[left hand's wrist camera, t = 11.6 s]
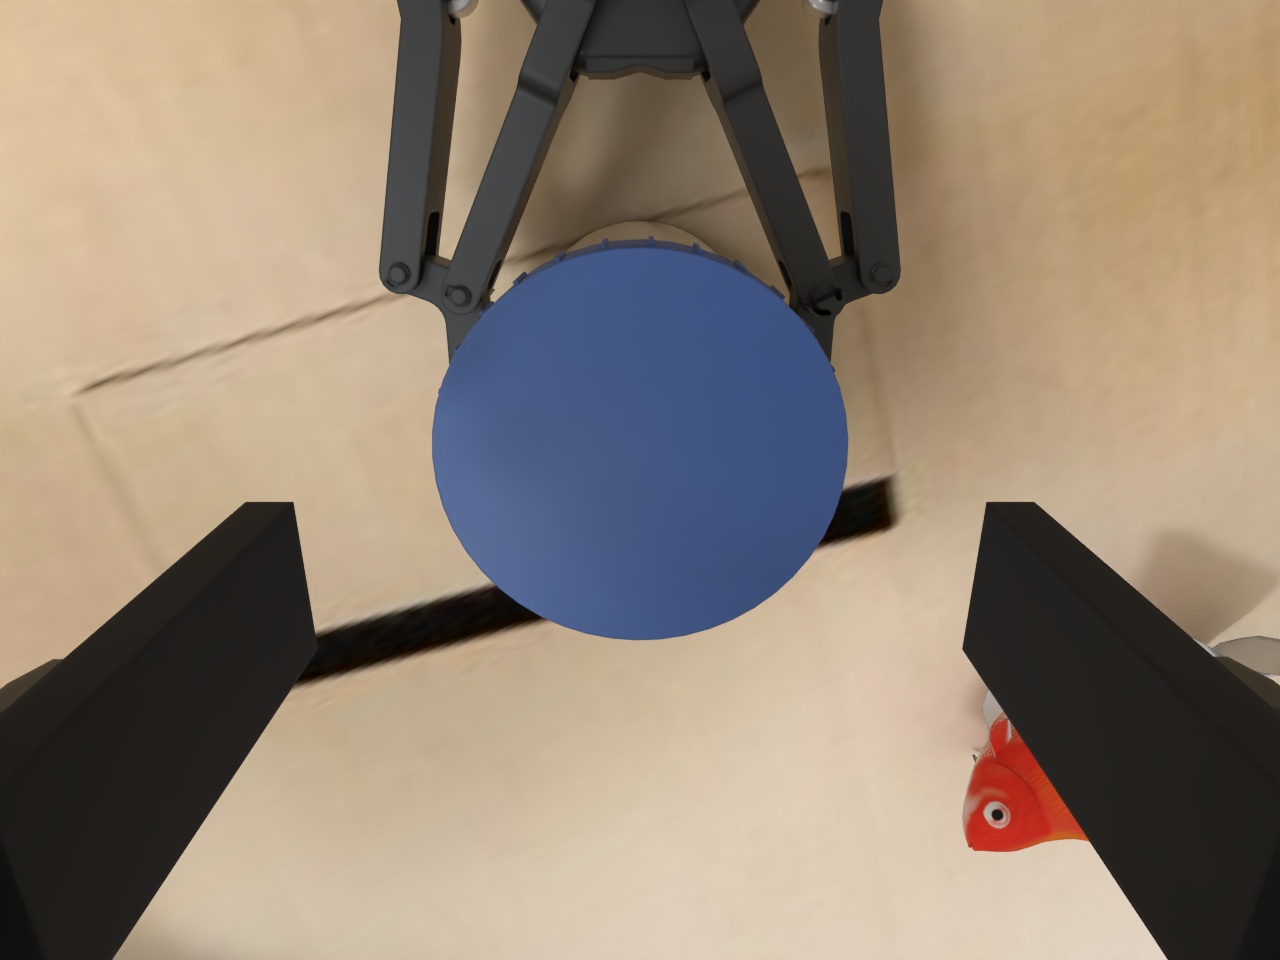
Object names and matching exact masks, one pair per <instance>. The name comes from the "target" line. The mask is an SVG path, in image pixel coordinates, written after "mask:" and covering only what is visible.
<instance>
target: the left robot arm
mask: <svg viewBox="0 0 1280 960" xmlns="http://www.w3.org/2000/svg"><path fill="white" fill-rule="evenodd" d="M317 649H318V648H317V642H316V636H315V630H314V624H313V618H312V612H311V606H310V600H309V594H308V588H307V582H306V575H305V569H304V563H303V557H302V551H301V545H300V539H299V533H298V527H297V521H296V515H295V509H294V503H293V502H245V503H244V504H243V505H242V506H241V507H239V508H238V509H237V510H236V511H235V512H234V513H232V514H231V515H230V516H229V517H228V518H227V519H225V520H224V521H223V522H222V523H221V524H220V525H219V526H217V527H216V528H215V529H214V530H213V531H212V532H210V533H209V534H208V535H207V536H206V537H205V538H203V539H202V540H201V541H200V542H199V543H198V544H196V545H195V546H194V547H193V548H192V549H191V550H190V551H188V552H187V553H186V554H185V555H184V556H183V557H181V558H180V559H179V560H178V561H177V562H176V563H174V564H173V565H172V566H171V567H170V568H169V569H167V570H166V571H165V572H164V573H163V574H162V575H161V576H159V577H158V578H157V579H156V580H155V581H154V582H152V583H151V584H150V585H149V586H148V587H147V588H145V589H144V590H143V591H142V592H141V593H140V594H138V595H137V596H136V597H135V598H134V599H133V600H132V601H130V602H129V603H128V604H127V605H126V606H125V607H123V608H122V609H121V610H120V611H119V612H118V613H116V614H115V615H114V616H113V617H112V618H111V619H109V620H108V621H107V622H106V623H105V624H104V625H102V626H101V627H100V628H99V629H98V630H97V631H96V632H94V633H93V634H92V635H91V636H90V637H89V638H87V639H86V640H85V641H84V642H83V643H82V644H80V645H79V646H78V647H77V648H76V649H75V650H73V651H72V652H71V653H70V654H69V655H68V656H67V657H65V658H64V659H53V660H51V661H49V662H47V663H45V664H43V665H42V666H40V667H38V668H36V669H34V670H32V671H30V672H28V673H26V674H25V675H23V676H21V677H19V678H17V679H15V680H13V681H11V682H9V683H8V684H6V685H5V686H4V687H3V688H1V689H0V960H112V959H113V958H114V956H115V955H116V953H117V952H118V950H119V949H120V947H121V946H122V944H123V943H124V941H125V939H126V938H127V936H128V935H129V933H130V932H131V930H132V929H133V927H134V926H135V924H136V923H137V921H138V920H139V918H140V917H141V915H142V914H143V912H144V911H145V909H146V908H147V906H148V905H149V903H150V902H151V900H152V899H153V897H154V896H155V894H156V893H157V891H158V890H159V888H160V887H161V885H162V884H163V882H164V881H165V879H166V878H167V876H168V875H169V873H170V872H171V870H172V868H173V867H174V865H175V864H176V862H177V861H178V859H179V858H180V856H181V855H182V853H183V852H184V850H185V849H186V847H187V846H188V844H189V843H190V841H191V840H192V838H193V837H194V835H195V834H196V832H197V831H198V829H199V828H200V826H201V825H202V823H203V822H204V820H205V819H206V817H207V816H208V814H209V813H210V811H211V810H212V808H213V807H214V805H215V804H216V802H217V801H218V799H219V797H220V796H221V794H222V793H223V791H224V790H225V788H226V787H227V785H228V784H229V782H230V781H231V779H232V778H233V776H234V775H235V773H236V772H237V770H238V769H239V767H240V766H241V764H242V763H243V761H244V760H245V758H246V757H247V755H248V754H249V752H250V751H251V749H252V748H253V746H254V745H255V743H256V742H257V740H258V739H259V737H260V736H261V734H262V733H263V731H264V730H265V728H266V726H267V725H268V723H269V722H270V720H271V719H272V717H273V716H274V714H275V713H276V711H277V710H278V708H279V707H280V705H281V704H282V702H283V701H284V699H285V698H286V696H287V695H288V693H289V692H290V690H291V689H292V687H293V686H294V684H295V683H296V681H297V680H298V678H299V677H300V675H301V674H302V672H303V671H304V669H305V668H306V666H307V665H308V663H309V662H310V660H311V659H312V657H313V655H314V654H315V652H316V651H317ZM962 649H963V651H964V652H965V654H966V655H967V657H968V659H969V660H970V662H971V663H972V665H973V666H974V668H975V669H976V671H977V672H978V674H979V675H980V677H981V678H982V680H983V681H984V683H985V684H986V686H987V687H988V689H989V690H990V692H991V693H992V695H993V696H994V698H995V699H996V701H997V702H998V704H999V705H1000V707H1001V708H1002V710H1003V711H1004V713H1005V714H1006V716H1007V717H1008V719H1009V720H1010V722H1011V723H1012V725H1013V726H1014V728H1015V730H1016V731H1017V733H1018V734H1019V736H1020V737H1021V739H1022V740H1023V742H1024V743H1025V745H1026V746H1027V748H1028V749H1029V751H1030V752H1031V754H1032V755H1033V757H1034V758H1035V760H1036V761H1037V763H1038V764H1039V766H1040V767H1041V769H1042V770H1043V772H1044V773H1045V775H1046V776H1047V778H1048V779H1049V781H1050V782H1051V784H1052V785H1053V787H1054V788H1055V790H1056V791H1057V793H1058V794H1059V796H1060V797H1061V799H1062V801H1063V802H1064V804H1065V805H1066V807H1067V808H1068V810H1069V811H1070V813H1071V814H1072V816H1073V817H1074V819H1075V820H1076V822H1077V823H1078V825H1079V826H1080V828H1081V829H1082V831H1083V832H1084V834H1085V835H1086V837H1087V838H1088V840H1089V841H1090V843H1091V844H1092V846H1093V847H1094V849H1095V850H1096V852H1097V853H1098V855H1099V856H1100V858H1101V859H1102V861H1103V862H1104V864H1105V865H1106V867H1107V868H1108V870H1109V872H1110V873H1111V875H1112V876H1113V878H1114V879H1115V881H1116V882H1117V884H1118V885H1119V887H1120V888H1121V890H1122V891H1123V893H1124V894H1125V896H1126V897H1127V899H1128V900H1129V902H1130V903H1131V905H1132V906H1133V908H1134V909H1135V911H1136V912H1137V914H1138V915H1139V917H1140V918H1141V920H1142V921H1143V923H1144V924H1145V926H1146V927H1147V929H1148V930H1149V932H1150V933H1151V935H1152V936H1153V938H1154V939H1155V941H1156V943H1157V944H1158V946H1159V947H1160V949H1161V950H1162V952H1163V953H1164V955H1165V956H1166V958H1167V959H1168V960H1280V685H1278V684H1277V683H1276V682H1275V681H1273V680H1271V679H1269V678H1268V677H1266V676H1264V675H1262V674H1260V673H1258V672H1256V671H1254V670H1252V669H1250V668H1249V667H1247V666H1245V665H1243V664H1241V663H1239V662H1237V661H1235V660H1233V659H1231V658H1230V657H1213V656H1212V655H1211V654H1210V653H1209V652H1208V651H1207V650H1205V649H1204V648H1203V647H1202V646H1201V645H1200V644H1198V643H1197V642H1196V641H1195V640H1194V639H1193V638H1191V637H1190V636H1189V635H1188V634H1187V633H1186V632H1184V631H1183V630H1182V629H1181V628H1180V627H1179V626H1178V625H1176V624H1175V623H1174V622H1173V621H1172V620H1171V619H1169V618H1168V617H1167V616H1166V615H1165V614H1164V613H1162V612H1161V611H1160V610H1159V609H1158V608H1157V607H1155V606H1154V605H1153V604H1152V603H1151V602H1150V601H1148V600H1147V599H1146V598H1145V597H1144V596H1143V595H1142V594H1140V593H1139V592H1138V591H1137V590H1136V589H1135V588H1133V587H1132V586H1131V585H1130V584H1129V583H1128V582H1126V581H1125V580H1124V579H1123V578H1122V577H1121V576H1119V575H1118V574H1117V573H1116V572H1115V571H1114V570H1113V569H1111V568H1110V567H1109V566H1108V565H1107V564H1106V563H1104V562H1103V561H1102V560H1101V559H1100V558H1099V557H1097V556H1096V555H1095V554H1094V553H1093V552H1092V551H1090V550H1089V549H1088V548H1087V547H1086V546H1085V545H1084V544H1082V543H1081V542H1080V541H1079V540H1078V539H1077V538H1075V537H1074V536H1073V535H1072V534H1071V533H1070V532H1068V531H1067V530H1066V529H1065V528H1064V527H1063V526H1061V525H1060V524H1059V523H1058V522H1057V521H1056V520H1055V519H1053V518H1052V517H1051V516H1050V515H1049V514H1048V513H1046V512H1045V511H1044V510H1043V509H1042V508H1041V507H1039V506H1038V505H1037V504H1036V503H1035V502H987V503H986V509H985V515H984V521H983V527H982V533H981V539H980V545H979V551H978V557H977V563H976V569H975V575H974V582H973V588H972V594H971V600H970V606H969V612H968V618H967V624H966V630H965V636H964V642H963V648H962Z"/></svg>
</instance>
